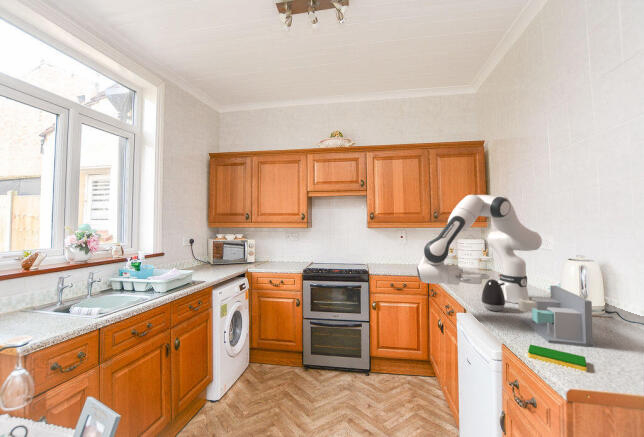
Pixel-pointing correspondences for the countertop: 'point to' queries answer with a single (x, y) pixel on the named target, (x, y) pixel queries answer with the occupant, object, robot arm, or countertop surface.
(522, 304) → the ivory button
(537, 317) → the teal button
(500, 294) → the pump dispenser
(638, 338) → the countertop surface
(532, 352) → the dish sponge
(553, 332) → the grey angled box fixture
